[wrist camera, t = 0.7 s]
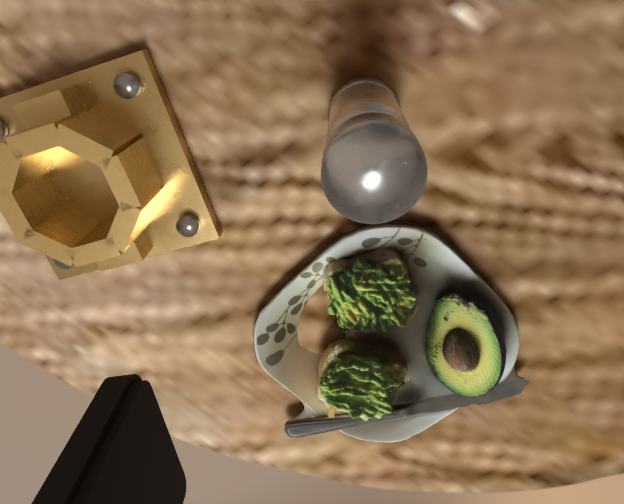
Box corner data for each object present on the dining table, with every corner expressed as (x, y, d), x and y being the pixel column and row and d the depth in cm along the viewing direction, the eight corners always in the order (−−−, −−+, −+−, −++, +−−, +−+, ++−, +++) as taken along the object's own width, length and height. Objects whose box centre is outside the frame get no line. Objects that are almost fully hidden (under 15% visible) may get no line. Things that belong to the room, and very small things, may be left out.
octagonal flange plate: (147, 48, 30) (113, 57, 25) (222, 232, 35) (204, 266, 30) (-28, 107, 32) (-88, 125, 28) (66, 272, 37) (28, 311, 32)
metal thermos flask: (389, 67, 30) (415, 108, 19) (405, 136, 31) (436, 209, 21) (320, 88, 30) (307, 139, 20) (339, 154, 32) (336, 234, 21)
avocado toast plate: (354, 472, 45) (356, 520, 40) (199, 344, 39) (182, 384, 35) (553, 352, 38) (579, 395, 34) (398, 179, 33) (406, 206, 29)
